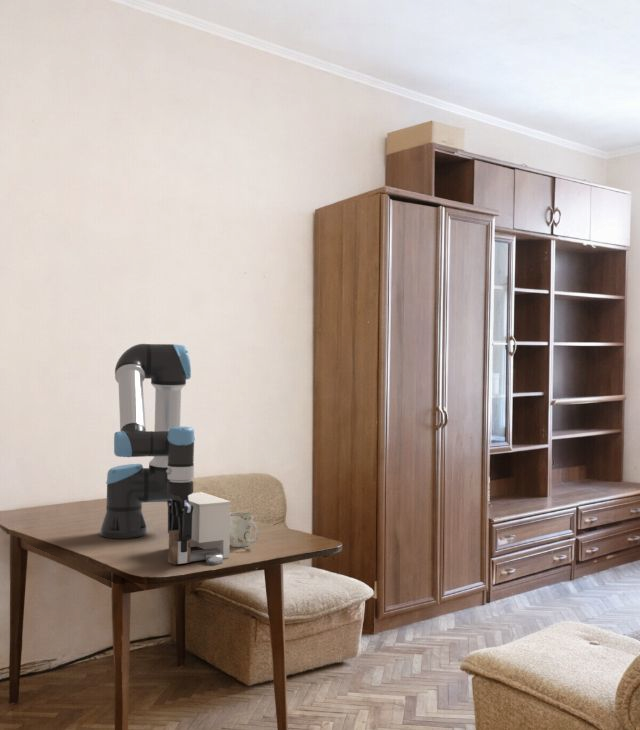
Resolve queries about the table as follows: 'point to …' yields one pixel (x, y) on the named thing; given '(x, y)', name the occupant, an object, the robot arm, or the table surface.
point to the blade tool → (190, 554)
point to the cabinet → (210, 522)
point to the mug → (242, 529)
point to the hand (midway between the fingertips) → (179, 561)
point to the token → (214, 558)
